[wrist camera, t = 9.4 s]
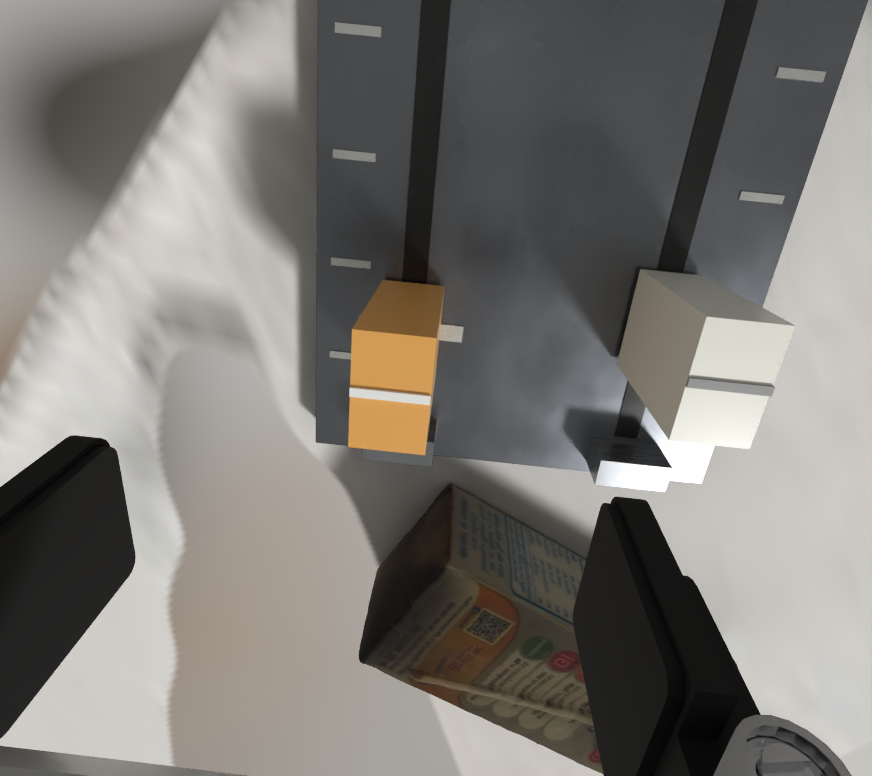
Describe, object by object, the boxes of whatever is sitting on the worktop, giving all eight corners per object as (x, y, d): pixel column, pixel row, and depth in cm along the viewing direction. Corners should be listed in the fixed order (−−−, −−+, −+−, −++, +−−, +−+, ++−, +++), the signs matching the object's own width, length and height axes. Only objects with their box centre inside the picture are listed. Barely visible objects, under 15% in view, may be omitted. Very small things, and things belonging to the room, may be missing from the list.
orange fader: (382, 279, 22) (351, 330, 16) (444, 286, 22) (436, 339, 16) (377, 371, 24) (347, 448, 18) (435, 377, 24) (424, 457, 18)
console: (330, -122, 19) (301, -179, 15) (863, -69, 18) (950, -116, 15) (323, 426, 27) (304, 465, 24) (688, 465, 27) (719, 510, 24)
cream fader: (640, 269, 21) (708, 317, 15) (704, 275, 21) (797, 327, 15) (616, 364, 23) (669, 442, 17) (676, 370, 23) (750, 450, 17)
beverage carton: (632, 708, 35) (667, 828, 28) (367, 570, 31) (344, 672, 25) (725, 632, 32) (786, 747, 26) (444, 470, 28) (438, 559, 22)
